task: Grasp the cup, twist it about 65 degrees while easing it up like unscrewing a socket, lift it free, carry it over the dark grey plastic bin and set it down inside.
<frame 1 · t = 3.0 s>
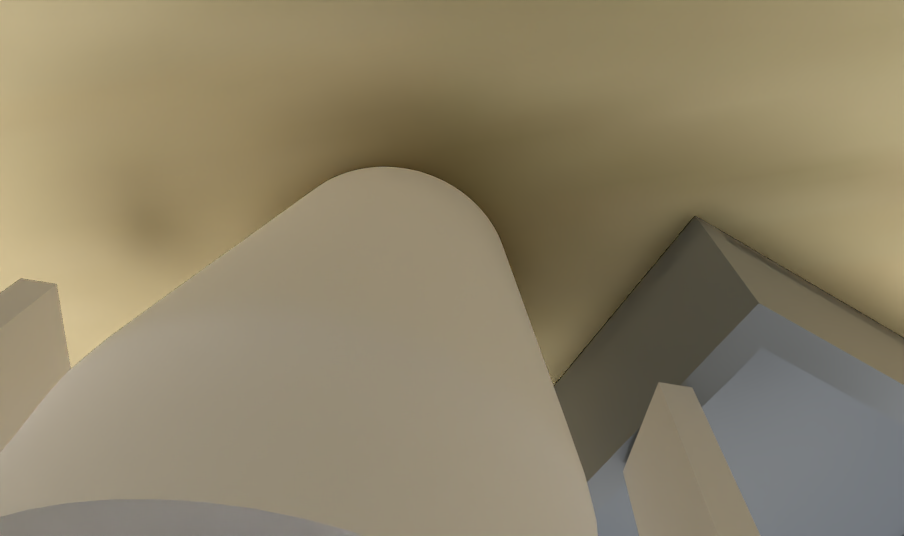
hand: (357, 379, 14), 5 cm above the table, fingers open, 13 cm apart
bin: (723, 471, 21), on the table
cup: (394, 270, 18), on the table
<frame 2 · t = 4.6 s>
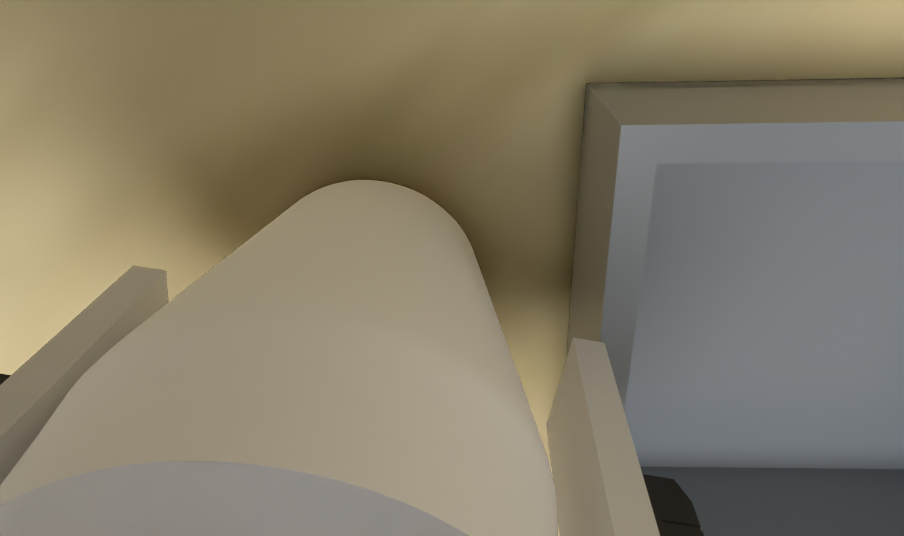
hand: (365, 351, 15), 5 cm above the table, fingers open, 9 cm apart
bin: (791, 304, 19), on the table
cup: (373, 276, 19), on the table, touching gripper
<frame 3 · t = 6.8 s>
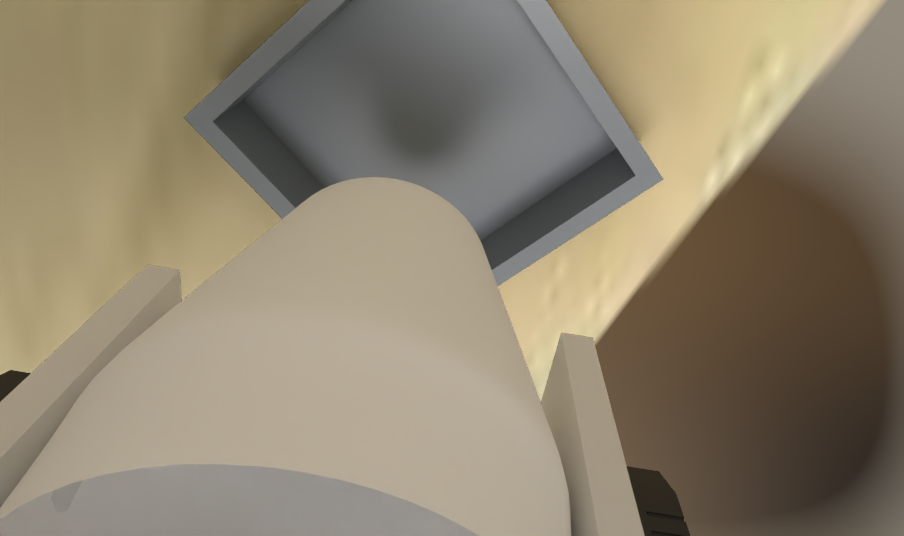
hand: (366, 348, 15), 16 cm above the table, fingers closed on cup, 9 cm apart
bin: (432, 119, 28), on the table
cup: (382, 273, 19), point 11 cm above the table, touching gripper
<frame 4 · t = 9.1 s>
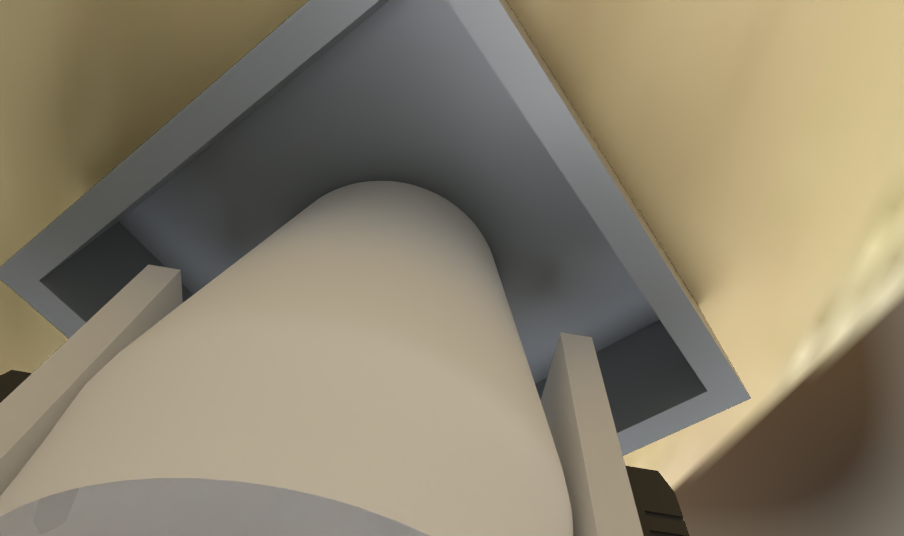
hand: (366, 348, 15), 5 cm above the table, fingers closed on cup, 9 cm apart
bin: (400, 256, 19), on the table
cup: (390, 277, 19), point 1 cm above the table, touching bin, gripper
when the fingers open (5 cm above the table, at t = 9.4 s): cup stays where it is, resting on bin.
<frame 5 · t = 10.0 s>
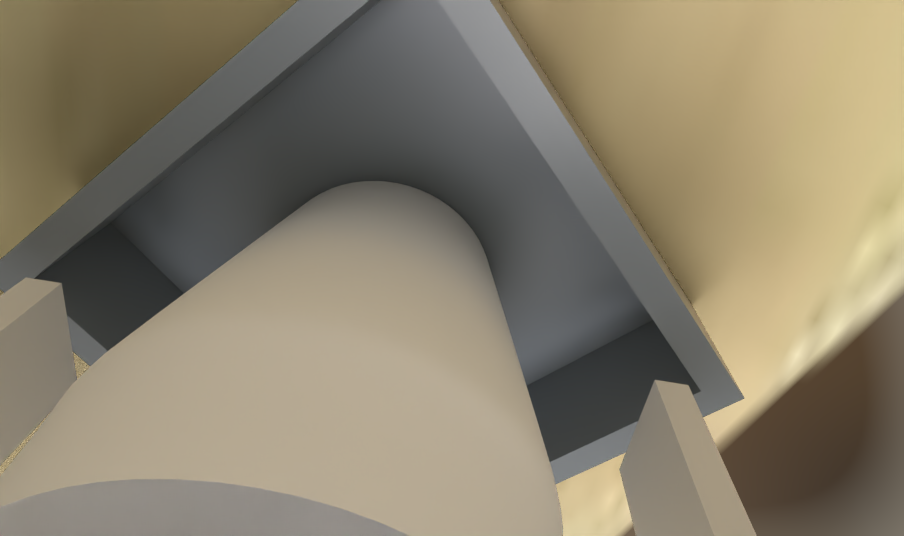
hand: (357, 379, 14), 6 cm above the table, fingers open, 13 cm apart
bin: (394, 256, 19), on the table
cup: (383, 278, 19), point 1 cm above the table, touching bin
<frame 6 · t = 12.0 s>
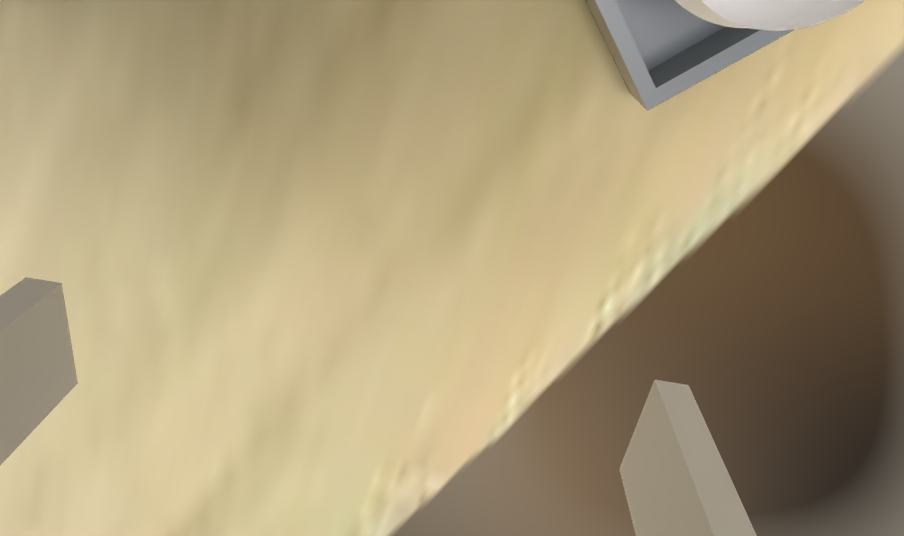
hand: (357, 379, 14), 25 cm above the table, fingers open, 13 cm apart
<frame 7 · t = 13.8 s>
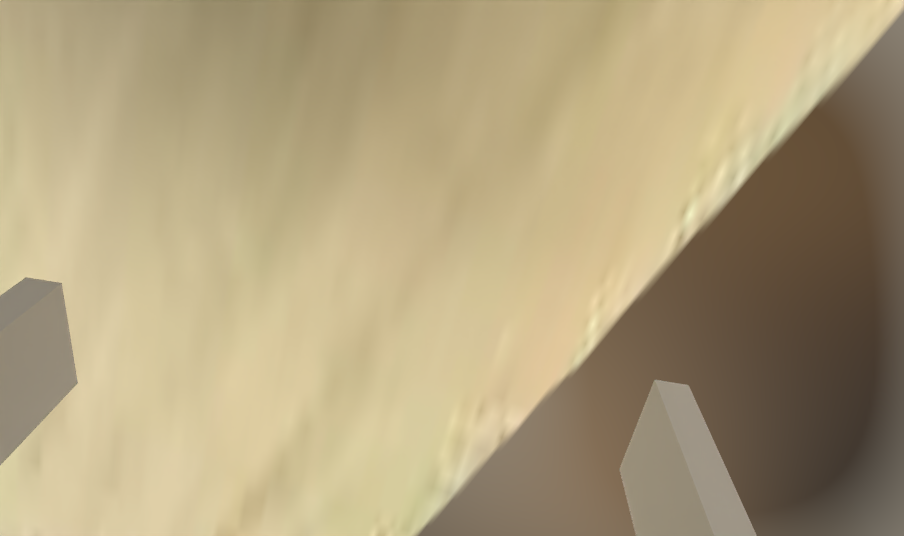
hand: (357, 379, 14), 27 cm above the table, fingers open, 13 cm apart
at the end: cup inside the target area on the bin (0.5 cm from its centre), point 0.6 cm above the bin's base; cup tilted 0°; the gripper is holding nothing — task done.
